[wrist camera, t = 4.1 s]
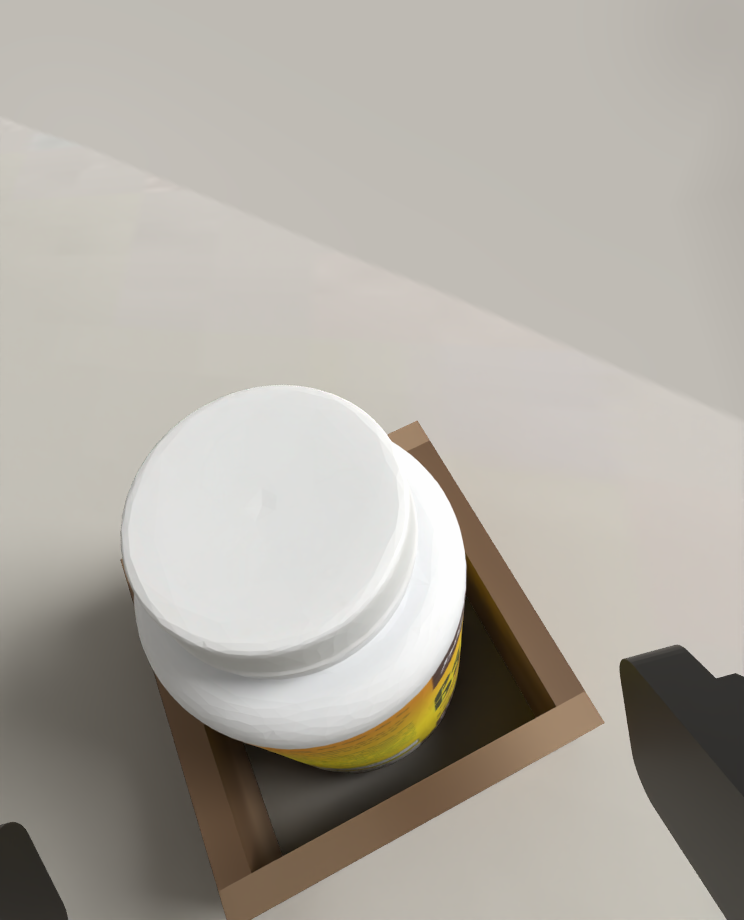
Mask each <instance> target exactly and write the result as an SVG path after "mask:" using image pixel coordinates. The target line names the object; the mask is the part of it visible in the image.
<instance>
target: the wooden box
mask: <svg viewBox="0 0 744 920" xmlns="http://www.w3.org/2000/svg"><path fill="white" fill-rule="evenodd" d="M388 437H389V438H390V440H391V441H392V442H394V443H395V444H397V445H398V446H400V447H401V448H402V449H404V450H405V451H406V452H408V453H409V454H410V455H412V456H413V457H414V458H415V459H416V460H417V461H418V462H420V464H421V465H422V466H423V467H424V468H425V469H426V470H427V471H428V472H429V473H430V474H431V475H432V477H433V478H434V479H435V480H436V481H437V483H438V484H439V486H440V487H441V488H442V490H443V492H444V493H445V495H446V497H447V499H448V501H449V502H450V505H451V507H452V509H453V511H454V514H455V516H456V519H457V522H458V525H459V527H460V531H461V536H462V540H463V545H464V550H465V560H466V596H467V598H468V600H469V601H470V603H471V605H472V607H473V608H474V610H475V612H476V614H477V615H478V617H479V619H480V621H481V622H482V624H483V626H484V628H485V629H486V631H487V633H488V635H489V636H490V638H491V640H492V642H493V643H494V645H495V647H496V649H497V651H498V652H499V654H500V656H501V658H502V659H503V661H504V663H505V665H506V666H507V668H508V670H509V672H510V673H511V675H512V677H513V679H514V680H515V682H516V684H517V686H518V687H519V689H520V691H521V693H522V694H523V696H524V698H525V700H526V701H527V703H528V705H529V707H530V708H531V710H532V712H533V714H534V715H535V717H536V718H535V719H533V720H531V721H529V722H528V723H526V724H524V725H522V726H520V727H519V728H517V729H515V730H513V731H511V732H509V733H508V734H506V735H504V736H502V737H500V738H498V739H497V740H495V741H493V742H491V743H489V744H487V745H486V746H484V747H482V748H480V749H478V750H476V751H475V752H473V753H471V754H469V755H467V756H465V757H464V758H462V759H460V760H458V761H456V762H454V763H453V764H451V765H449V766H447V767H445V768H443V769H442V770H440V771H438V772H436V773H434V774H432V775H431V776H429V777H427V778H425V779H423V780H421V781H420V782H418V783H416V784H414V785H412V786H411V787H409V788H407V789H405V790H403V791H401V792H400V793H398V794H396V795H394V796H392V797H390V798H389V799H387V800H385V801H383V802H381V803H379V804H378V805H376V806H374V807H372V808H370V809H368V810H367V811H365V812H363V813H361V814H359V815H357V816H356V817H354V818H352V819H350V820H348V821H346V822H345V823H343V824H341V825H339V826H337V827H335V828H334V829H332V830H330V831H328V832H326V833H324V834H323V835H321V836H319V837H317V838H315V839H313V840H312V841H310V842H308V843H306V844H304V845H302V846H301V847H299V848H297V849H295V850H293V851H292V852H290V853H288V854H286V855H284V856H282V854H281V851H280V848H279V845H278V842H277V839H276V836H275V833H274V830H273V827H272V825H271V822H270V819H269V816H268V813H267V810H266V807H265V804H264V801H263V799H262V796H261V793H260V790H259V787H258V784H257V781H256V778H255V775H254V772H253V770H252V767H251V764H250V761H249V758H248V755H247V752H246V749H245V746H244V744H243V742H241V741H239V740H236V739H233V738H231V737H228V736H226V735H224V734H222V733H220V732H218V731H216V730H214V729H212V728H210V727H209V726H207V725H206V724H204V723H202V722H201V721H200V720H198V719H197V718H196V717H194V716H193V715H191V714H190V713H189V712H188V711H186V710H185V709H184V708H183V707H182V706H181V705H180V704H179V703H178V702H177V701H176V700H175V699H174V698H173V697H172V696H171V695H170V693H169V692H168V691H167V690H166V688H165V687H164V686H163V684H162V683H161V682H160V680H159V679H158V677H157V676H156V674H155V672H154V675H155V678H156V682H157V685H158V688H159V692H160V695H161V699H162V702H163V705H164V709H165V712H166V716H167V719H168V722H169V726H170V729H171V732H172V736H173V739H174V743H175V746H176V749H177V753H178V756H179V760H180V763H181V766H182V770H183V773H184V777H185V780H186V783H187V787H188V790H189V793H190V797H191V800H192V804H193V807H194V810H195V814H196V817H197V821H198V824H199V827H200V831H201V834H202V838H203V841H204V844H205V848H206V851H207V854H208V858H209V861H210V865H211V868H212V871H213V875H214V878H215V882H216V885H217V888H218V892H219V895H220V899H221V902H222V905H223V909H224V912H225V915H226V919H227V920H251V919H253V918H255V917H256V916H258V915H260V914H262V913H264V912H265V911H267V910H269V909H271V908H273V907H274V906H276V905H278V904H280V903H282V902H283V901H285V900H287V899H289V898H291V897H292V896H294V895H296V894H298V893H300V892H301V891H303V890H305V889H307V888H309V887H310V886H312V885H314V884H316V883H318V882H319V881H321V880H323V879H325V878H327V877H328V876H330V875H332V874H334V873H336V872H337V871H339V870H341V869H343V868H345V867H346V866H348V865H350V864H352V863H354V862H355V861H357V860H359V859H361V858H363V857H364V856H366V855H368V854H370V853H372V852H373V851H375V850H377V849H379V848H381V847H382V846H384V845H386V844H388V843H390V842H391V841H393V840H395V839H397V838H399V837H400V836H402V835H404V834H406V833H408V832H409V831H411V830H413V829H415V828H417V827H418V826H420V825H422V824H424V823H426V822H427V821H429V820H431V819H433V818H434V817H436V816H438V815H440V814H442V813H443V812H445V811H447V810H449V809H451V808H452V807H454V806H456V805H458V804H460V803H461V802H463V801H465V800H467V799H469V798H470V797H472V796H474V795H476V794H478V793H479V792H481V791H483V790H485V789H487V788H488V787H490V786H492V785H494V784H496V783H497V782H499V781H501V780H503V779H505V778H506V777H508V776H510V775H512V774H514V773H515V772H517V771H519V770H521V769H523V768H524V767H526V766H528V765H530V764H532V763H533V762H535V761H537V760H539V759H541V758H542V757H544V756H546V755H548V754H550V753H551V752H553V751H555V750H557V749H559V748H560V747H562V746H564V745H566V744H568V743H569V742H571V741H573V740H575V739H577V738H578V737H580V736H582V735H584V734H586V733H587V732H589V731H591V730H593V729H595V728H596V727H598V726H600V725H602V724H604V721H603V719H602V718H601V716H600V715H599V713H598V711H597V710H596V708H595V706H594V705H593V703H592V702H591V700H590V698H589V697H588V695H587V694H586V692H585V690H584V689H583V687H582V686H581V684H580V682H579V681H578V679H577V677H576V676H575V674H574V673H573V671H572V669H571V668H570V666H569V665H568V663H567V661H566V660H565V658H564V656H563V655H562V653H561V652H560V650H559V648H558V647H557V645H556V644H555V642H554V640H553V639H552V637H551V635H550V634H549V632H548V631H547V629H546V627H545V626H544V624H543V623H542V621H541V619H540V618H539V616H538V614H537V613H536V611H535V610H534V608H533V606H532V605H531V603H530V602H529V600H528V598H527V597H526V595H525V594H524V592H523V590H522V589H521V587H520V585H519V584H518V582H517V581H516V579H515V577H514V576H513V574H512V573H511V571H510V569H509V568H508V566H507V564H506V563H505V561H504V560H503V558H502V556H501V555H500V553H499V552H498V550H497V548H496V547H495V545H494V543H493V542H492V540H491V539H490V537H489V535H488V534H487V532H486V531H485V529H484V527H483V526H482V524H481V522H480V521H479V519H478V518H477V516H476V514H475V513H474V511H473V510H472V508H471V506H470V505H469V503H468V501H467V500H466V498H465V497H464V495H463V493H462V492H461V490H460V489H459V487H458V485H457V484H456V482H455V481H454V479H453V477H452V476H451V474H450V472H449V471H448V469H447V468H446V466H445V464H444V463H443V461H442V460H441V458H440V456H439V455H438V453H437V451H436V450H435V448H434V447H433V445H432V443H431V442H430V440H429V439H428V437H427V435H426V434H425V432H424V430H423V429H422V427H421V426H420V424H419V422H418V421H415V422H413V423H411V424H409V425H407V426H405V427H403V428H400V429H398V430H396V431H394V432H392V433H390V434H388ZM121 563H122V566H123V570H124V573H125V577H126V580H127V583H128V587H129V590H130V594H131V597H132V600H133V604H134V592H133V590H132V588H131V585H130V583H129V581H128V578H127V576H126V572H125V568H124V564H123V559H121ZM153 671H154V670H153Z"/></svg>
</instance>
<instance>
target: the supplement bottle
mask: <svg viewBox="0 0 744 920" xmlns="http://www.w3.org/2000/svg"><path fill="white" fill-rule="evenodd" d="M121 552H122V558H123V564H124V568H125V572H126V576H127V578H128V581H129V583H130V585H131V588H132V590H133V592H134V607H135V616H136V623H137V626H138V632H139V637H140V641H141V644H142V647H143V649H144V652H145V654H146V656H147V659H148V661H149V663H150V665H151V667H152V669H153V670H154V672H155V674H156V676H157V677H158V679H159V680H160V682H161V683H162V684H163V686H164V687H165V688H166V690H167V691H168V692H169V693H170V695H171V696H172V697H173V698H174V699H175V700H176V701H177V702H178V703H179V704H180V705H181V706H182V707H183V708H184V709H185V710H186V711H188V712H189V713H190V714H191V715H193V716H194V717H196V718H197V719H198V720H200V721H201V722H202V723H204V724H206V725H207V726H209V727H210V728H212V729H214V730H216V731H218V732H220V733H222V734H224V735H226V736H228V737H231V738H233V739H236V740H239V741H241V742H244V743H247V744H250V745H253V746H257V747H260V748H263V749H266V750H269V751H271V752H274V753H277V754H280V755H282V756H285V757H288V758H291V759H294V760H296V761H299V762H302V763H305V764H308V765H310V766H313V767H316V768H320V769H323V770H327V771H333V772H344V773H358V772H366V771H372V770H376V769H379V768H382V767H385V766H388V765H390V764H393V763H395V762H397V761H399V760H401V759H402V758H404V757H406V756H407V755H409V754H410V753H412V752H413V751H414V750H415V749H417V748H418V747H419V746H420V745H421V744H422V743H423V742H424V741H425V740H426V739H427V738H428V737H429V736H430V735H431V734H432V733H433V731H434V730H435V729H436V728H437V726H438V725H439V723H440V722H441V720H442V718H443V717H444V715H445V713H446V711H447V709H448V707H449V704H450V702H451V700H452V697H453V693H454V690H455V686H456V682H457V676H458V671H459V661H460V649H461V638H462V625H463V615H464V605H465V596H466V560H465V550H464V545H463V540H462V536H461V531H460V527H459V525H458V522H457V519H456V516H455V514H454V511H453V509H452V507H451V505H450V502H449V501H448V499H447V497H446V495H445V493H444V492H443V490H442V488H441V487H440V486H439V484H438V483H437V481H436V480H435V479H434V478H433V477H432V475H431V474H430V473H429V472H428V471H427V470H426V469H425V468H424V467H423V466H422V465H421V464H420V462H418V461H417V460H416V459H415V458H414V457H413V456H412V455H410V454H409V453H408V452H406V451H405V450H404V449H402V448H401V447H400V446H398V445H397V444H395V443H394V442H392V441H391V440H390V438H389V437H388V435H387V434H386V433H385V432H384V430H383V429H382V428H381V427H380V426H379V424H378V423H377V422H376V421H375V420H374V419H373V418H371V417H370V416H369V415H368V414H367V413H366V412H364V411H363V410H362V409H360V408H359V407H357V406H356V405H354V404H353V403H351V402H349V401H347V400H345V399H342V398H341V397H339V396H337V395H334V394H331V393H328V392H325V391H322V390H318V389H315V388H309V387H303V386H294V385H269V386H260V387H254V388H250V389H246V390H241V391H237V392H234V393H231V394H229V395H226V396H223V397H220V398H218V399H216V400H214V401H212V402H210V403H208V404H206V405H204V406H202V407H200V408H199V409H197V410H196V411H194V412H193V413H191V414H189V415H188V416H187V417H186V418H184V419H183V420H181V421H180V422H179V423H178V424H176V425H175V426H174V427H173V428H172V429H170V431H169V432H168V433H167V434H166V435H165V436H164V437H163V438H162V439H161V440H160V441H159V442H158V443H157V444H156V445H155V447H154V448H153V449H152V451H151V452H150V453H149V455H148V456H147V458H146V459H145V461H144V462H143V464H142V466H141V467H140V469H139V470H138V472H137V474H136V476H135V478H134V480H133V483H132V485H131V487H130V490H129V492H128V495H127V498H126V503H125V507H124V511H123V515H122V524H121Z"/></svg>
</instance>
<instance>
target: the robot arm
mask: <svg viewBox="0 0 744 920" xmlns="http://www.w3.org/2000/svg"><path fill="white" fill-rule="evenodd" d="M620 678H621V685H622V691H623V698H624V704H625V711H626V717H627V724H628V730H629V736H630V743H631V749H632V755H633V759H634V763H635V766H636V770H637V772H638V775H639V778H640V780H641V783H642V785H643V787H644V790H645V792H646V794H647V796H648V798H649V800H650V802H651V803H652V805H653V807H654V808H655V810H656V811H657V813H658V814H659V816H660V818H661V819H662V821H663V822H664V824H665V825H666V827H667V828H668V830H669V831H670V833H671V834H672V836H673V838H674V839H675V841H676V842H677V844H678V845H679V847H680V848H681V850H682V851H683V853H684V854H685V856H686V858H687V859H688V861H689V862H690V864H691V865H692V867H693V868H694V870H695V871H696V873H697V874H698V876H699V878H700V879H701V881H702V882H703V884H704V885H705V887H706V888H707V890H708V891H709V893H710V894H711V896H712V897H713V899H714V901H715V902H716V904H717V905H718V907H719V908H720V910H721V911H722V913H723V914H724V916H725V917H726V919H727V920H744V677H743V676H741V675H738V674H736V673H735V674H731V675H727V676H724V677H720V678H715V677H714V676H713V675H712V674H711V673H710V672H709V671H708V670H707V669H706V668H705V667H704V666H703V665H702V664H701V663H700V662H699V661H698V660H697V659H695V658H694V657H693V656H692V655H691V654H690V653H689V652H688V651H687V650H686V649H685V648H684V647H682V646H680V645H673V646H670V647H666V648H662V649H659V650H655V651H651V652H647V653H644V654H640V655H636V656H633V657H629V658H625V659H622V660H621V662H620ZM0 920H68V917H67V912H66V909H65V906H64V904H63V902H62V900H61V898H60V896H59V894H58V892H57V890H56V888H55V886H54V884H53V882H52V880H51V878H50V876H49V874H48V872H47V870H46V868H45V866H44V864H43V862H42V860H41V858H40V856H39V854H38V852H37V850H36V848H35V846H34V844H33V842H32V840H31V838H30V836H29V834H28V833H27V831H26V829H25V828H24V827H23V826H22V825H20V824H19V823H16V822H10V823H6V824H2V825H0Z"/></svg>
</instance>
